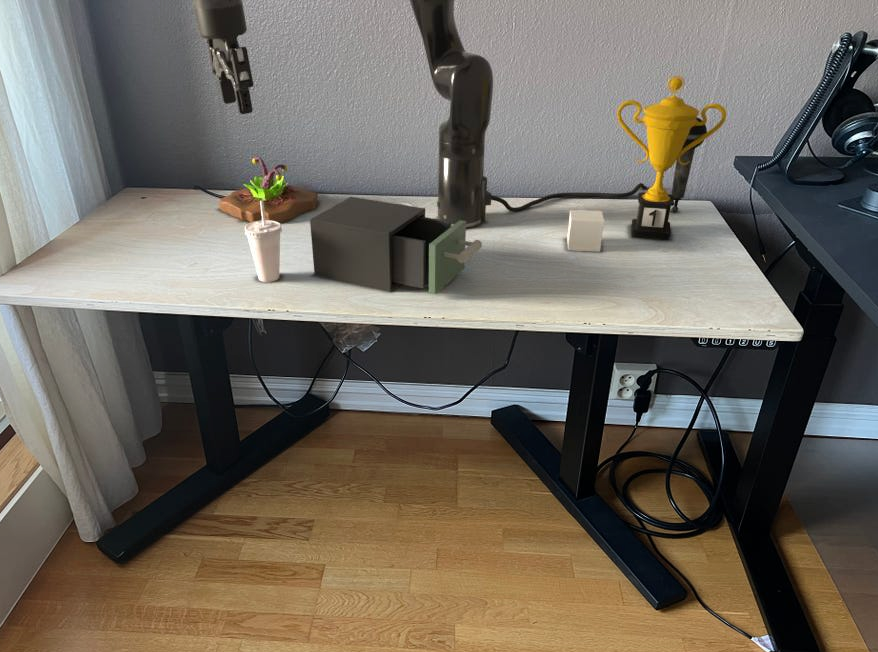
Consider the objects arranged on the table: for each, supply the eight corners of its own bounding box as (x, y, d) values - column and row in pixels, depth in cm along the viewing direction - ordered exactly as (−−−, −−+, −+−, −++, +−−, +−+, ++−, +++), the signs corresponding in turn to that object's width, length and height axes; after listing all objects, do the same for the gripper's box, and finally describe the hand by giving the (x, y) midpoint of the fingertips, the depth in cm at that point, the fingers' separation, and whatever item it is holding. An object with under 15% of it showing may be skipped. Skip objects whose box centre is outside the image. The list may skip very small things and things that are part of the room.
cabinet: (425, 263, 133) (425, 208, 127) (390, 291, 123) (388, 233, 117) (353, 249, 139) (350, 196, 134) (314, 275, 129) (309, 219, 123)
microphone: (694, 210, 156) (714, 115, 146) (686, 219, 151) (706, 122, 141) (662, 204, 159) (679, 111, 149) (654, 213, 154) (670, 118, 144)
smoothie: (293, 272, 130) (285, 197, 123) (276, 287, 125) (267, 209, 118) (261, 268, 132) (252, 194, 125) (244, 282, 127) (233, 206, 119)
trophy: (600, 237, 143) (621, 78, 127) (602, 220, 151) (622, 69, 135) (702, 246, 138) (737, 82, 123) (698, 228, 146) (731, 72, 131)
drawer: (486, 272, 127) (488, 224, 122) (458, 299, 117) (459, 249, 113) (393, 254, 134) (392, 209, 130) (360, 279, 125) (358, 231, 121)
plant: (269, 188, 173) (264, 141, 168) (331, 202, 163) (327, 153, 158) (206, 211, 160) (198, 161, 154) (268, 228, 150) (262, 176, 144)
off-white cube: (597, 240, 141) (601, 211, 138) (600, 251, 136) (604, 221, 133) (566, 238, 142) (570, 209, 139) (567, 250, 137) (571, 220, 134)
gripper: (255, 3, 108) (273, 112, 118) (226, -5, 119) (244, 95, 128) (208, 11, 106) (229, 121, 115) (182, 1, 116) (204, 103, 125)
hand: (237, 107), depth 121 cm, fingers open, 8 cm apart
